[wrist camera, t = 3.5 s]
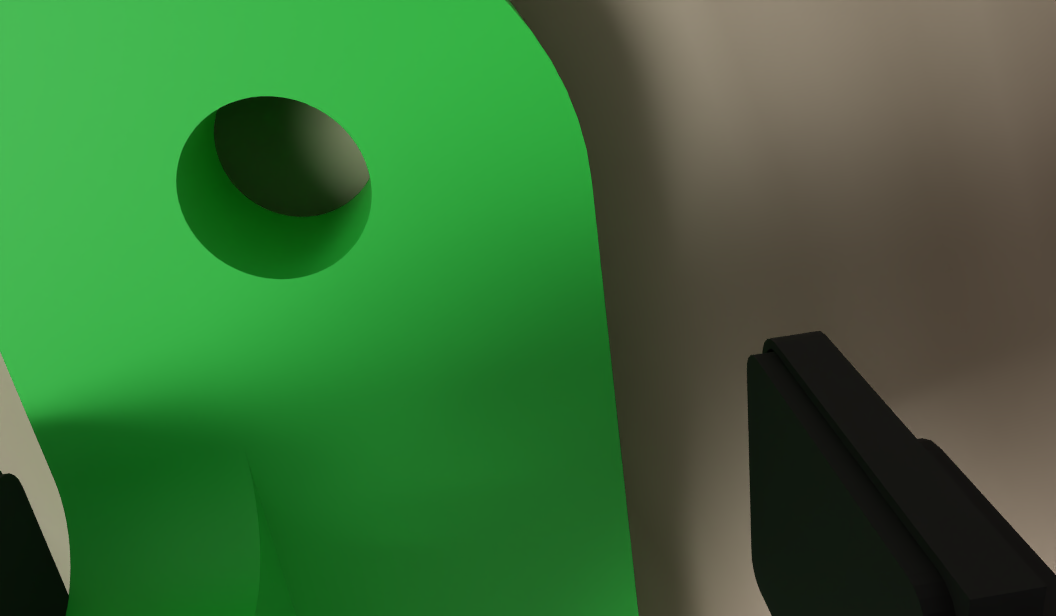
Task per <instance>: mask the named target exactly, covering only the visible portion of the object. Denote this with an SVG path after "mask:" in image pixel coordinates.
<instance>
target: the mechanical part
mask: <svg viewBox="0 0 1056 616" xmlns="http://www.w3.org/2000/svg"><path fill="white" fill-rule="evenodd" d="M259 96H275V97H284V98H288V99H293V100H297V101H300V102H303V103H306V104H308V105H310V106H312V107H315V108H317V109H318V110H320V111H322V112H324V113H325V114H327V115H328V116H329V117H331V118H332V119H334V120H335V121H336V122H337V123H338V124H339V125H341V126H342V127H343V128H344V129H345V131H346V132H347V133H348V134H349V135H350V136H351V138H352V139H353V140H354V142H355V143H356V144H357V146H358V148H359V149H360V151H361V153H362V155H363V157H364V160H365V162H366V165H367V168H368V171H369V175H370V178H369V180H368V182H367V183H366V185H365V186H364V188H363V189H362V190H361V191H360V192H359V194H357V195H356V196H355V197H354V198H353V199H352V200H351V201H349V202H348V203H347V204H345V205H343V206H342V207H340V208H338V209H336V210H334V211H331V212H328V213H325V214H321V215H316V216H308V217H296V216H288V215H283V214H279V213H276V212H272V211H270V210H267V209H265V208H263V207H261V206H259V205H257V204H256V203H254V202H253V201H251V200H250V199H248V198H247V197H246V196H245V195H243V194H242V193H241V192H240V191H239V190H238V189H237V188H236V187H235V185H234V184H233V183H232V182H231V181H230V179H229V178H228V176H227V175H226V173H225V171H224V169H223V167H222V165H221V163H220V160H219V158H218V155H217V151H216V147H215V140H214V124H215V118H216V113H217V110H218V109H219V108H220V107H223V106H225V105H227V104H229V103H232V102H235V101H238V100H241V99H245V98H250V97H259ZM0 352H1V354H2V357H3V359H4V362H5V364H6V366H7V369H8V371H9V373H10V376H11V378H12V381H13V383H14V385H15V388H16V390H17V392H18V395H19V397H20V400H21V402H22V404H23V407H24V409H25V411H26V414H27V416H28V418H29V421H30V423H31V426H32V428H33V430H34V433H35V435H36V437H37V440H38V442H39V445H40V447H41V449H42V452H43V454H44V456H45V459H46V461H47V464H48V466H49V468H50V471H51V473H52V475H53V478H54V480H55V483H56V485H57V488H58V491H59V494H60V497H61V500H62V504H63V508H64V512H65V517H66V521H67V528H68V534H69V544H70V564H71V572H70V589H69V600H68V607H67V611H66V616H639V614H638V605H637V595H636V586H635V577H634V567H633V558H632V549H631V540H630V530H629V521H628V512H627V503H626V493H625V484H624V475H623V465H622V456H621V447H620V438H619V428H618V419H617V410H616V400H615V391H614V382H613V373H612V363H611V354H610V345H609V336H608V326H607V317H606V308H605V298H604V289H603V280H602V271H601V261H600V252H599V243H598V233H597V224H596V215H595V206H594V196H593V187H592V179H591V173H590V167H589V161H588V154H587V149H586V146H585V142H584V138H583V135H582V131H581V128H580V124H579V120H578V118H577V115H576V113H575V110H574V108H573V105H572V103H571V100H570V98H569V95H568V93H567V90H566V88H565V86H564V84H563V82H562V80H561V78H560V77H559V75H558V73H557V71H556V69H555V67H554V65H553V63H552V61H551V59H550V58H549V57H548V55H547V54H546V52H545V51H544V49H543V48H542V46H541V45H540V43H539V42H538V40H537V39H536V37H535V36H534V34H533V33H532V31H531V30H530V28H529V27H528V26H527V24H526V23H525V21H524V20H523V19H522V17H521V16H520V14H519V13H518V12H517V10H516V9H515V7H514V6H513V5H512V3H511V2H510V1H509V0H0Z"/></svg>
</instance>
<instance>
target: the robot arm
mask: <svg viewBox="0 0 1056 616" xmlns="http://www.w3.org/2000/svg"><path fill="white" fill-rule="evenodd" d="M747 391H748V431H749V470H750V510H751V549H752V563H753V569H754V573H755V577H756V581H757V584H758V587H759V589H760V592H761V594H762V596H763V598H764V600H765V602H766V604H767V607H768V609H769V611H770V613H771V615H772V616H1056V575H1055V574H1054V573H1053V572H1052V570H1051V569H1050V568H1049V567H1048V566H1047V565H1046V564H1045V563H1044V562H1043V560H1042V559H1041V558H1040V557H1039V556H1038V555H1037V554H1036V553H1035V552H1034V551H1033V549H1032V548H1031V547H1030V546H1029V545H1028V544H1027V543H1026V542H1025V541H1024V540H1023V538H1022V537H1021V536H1020V535H1019V534H1018V533H1017V532H1016V531H1015V530H1014V529H1013V527H1012V526H1011V525H1010V524H1009V523H1008V522H1007V521H1006V520H1005V519H1004V518H1003V516H1002V515H1001V514H1000V513H999V512H998V511H997V510H996V509H995V508H994V506H993V505H992V504H991V503H990V502H989V501H988V500H987V499H986V498H985V497H984V495H983V494H982V493H981V492H980V491H979V490H978V489H977V488H976V487H975V486H974V484H973V483H972V482H971V481H970V480H969V479H968V478H967V477H966V476H965V475H964V473H963V472H962V471H961V470H960V469H959V468H958V467H957V466H956V465H955V464H954V462H953V461H952V460H951V459H950V458H949V457H948V456H947V455H946V454H945V453H944V451H943V450H942V449H941V448H940V447H938V446H937V445H936V444H935V443H934V442H932V441H931V440H927V439H923V438H920V439H917V438H916V437H915V436H914V435H913V434H912V433H911V432H910V431H909V429H908V428H907V427H906V426H905V425H904V424H903V423H902V421H901V420H900V419H899V418H898V417H897V416H896V415H895V414H894V412H893V411H892V410H891V409H890V408H889V407H888V406H887V404H886V403H885V402H884V401H883V400H882V399H881V398H880V396H879V395H878V394H877V393H876V392H875V391H874V390H873V389H872V387H871V386H870V385H869V384H868V383H867V382H866V381H865V379H864V378H863V377H862V376H861V375H860V374H859V373H858V372H857V370H856V369H855V368H854V367H853V366H852V365H851V364H850V362H849V361H848V360H847V359H846V358H845V357H844V356H843V354H842V353H841V352H840V351H839V350H838V349H837V348H836V347H835V345H834V344H833V343H832V342H831V341H830V340H829V339H828V337H827V336H826V335H825V334H823V333H822V332H821V331H815V332H809V333H802V334H796V335H790V336H783V337H777V338H771V339H767V340H766V341H765V343H764V346H763V353H762V354H756V355H750V357H749V358H748V362H747ZM68 600H69V595H68V593H67V591H66V588H65V586H64V583H63V581H62V579H61V576H60V574H59V572H58V569H57V567H56V564H55V562H54V560H53V557H52V555H51V553H50V550H49V548H48V546H47V543H46V541H45V538H44V536H43V534H42V531H41V529H40V527H39V524H38V522H37V519H36V517H35V515H34V512H33V510H32V508H31V505H30V503H29V501H28V498H27V496H26V493H25V491H24V489H23V486H22V485H21V483H20V481H19V479H18V478H17V477H16V476H14V475H12V474H9V473H8V474H2V473H1V471H0V616H66V611H67V607H68Z"/></svg>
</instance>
